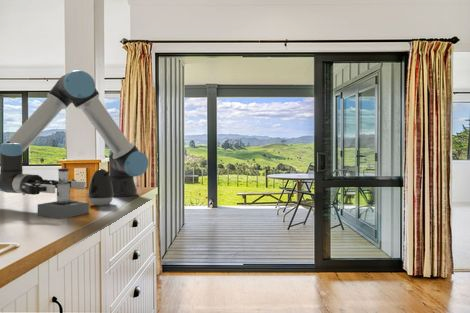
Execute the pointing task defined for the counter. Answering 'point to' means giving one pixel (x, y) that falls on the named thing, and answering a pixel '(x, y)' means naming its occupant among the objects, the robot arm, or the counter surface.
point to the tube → (63, 188)
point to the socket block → (63, 209)
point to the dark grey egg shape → (100, 188)
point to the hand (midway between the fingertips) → (70, 187)
